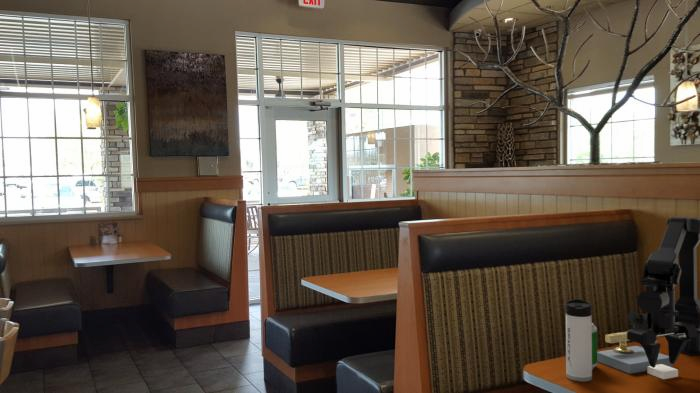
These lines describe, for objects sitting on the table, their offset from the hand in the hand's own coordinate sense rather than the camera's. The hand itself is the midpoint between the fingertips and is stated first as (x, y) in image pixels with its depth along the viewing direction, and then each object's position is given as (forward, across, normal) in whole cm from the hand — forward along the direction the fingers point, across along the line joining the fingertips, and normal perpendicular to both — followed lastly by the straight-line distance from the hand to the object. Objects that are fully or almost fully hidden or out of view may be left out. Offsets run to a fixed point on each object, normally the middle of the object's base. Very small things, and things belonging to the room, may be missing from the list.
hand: (662, 365), depth 153 cm
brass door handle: (0, -1, -13) cm, 13 cm away
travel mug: (+3, +21, -7) cm, 22 cm away
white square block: (+3, 0, 0) cm, 3 cm away
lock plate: (+2, 0, -10) cm, 10 cm away
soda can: (+3, +14, -14) cm, 20 cm away
